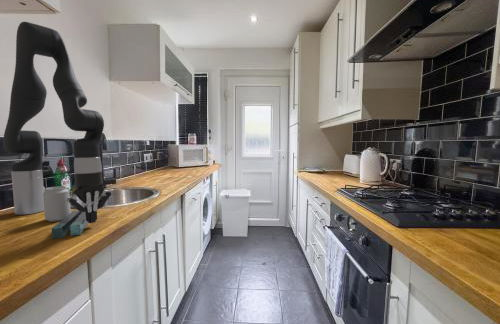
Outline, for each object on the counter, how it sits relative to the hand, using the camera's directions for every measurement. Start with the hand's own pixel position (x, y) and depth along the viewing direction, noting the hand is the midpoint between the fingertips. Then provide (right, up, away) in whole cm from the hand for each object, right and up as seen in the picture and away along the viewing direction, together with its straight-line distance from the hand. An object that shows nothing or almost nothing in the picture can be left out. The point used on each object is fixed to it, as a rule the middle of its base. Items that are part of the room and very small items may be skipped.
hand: (91, 222), depth 80 cm
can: (-18, -1, +9) cm, 20 cm away
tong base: (-7, -1, +2) cm, 8 cm away
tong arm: (-4, -1, +1) cm, 4 cm away
